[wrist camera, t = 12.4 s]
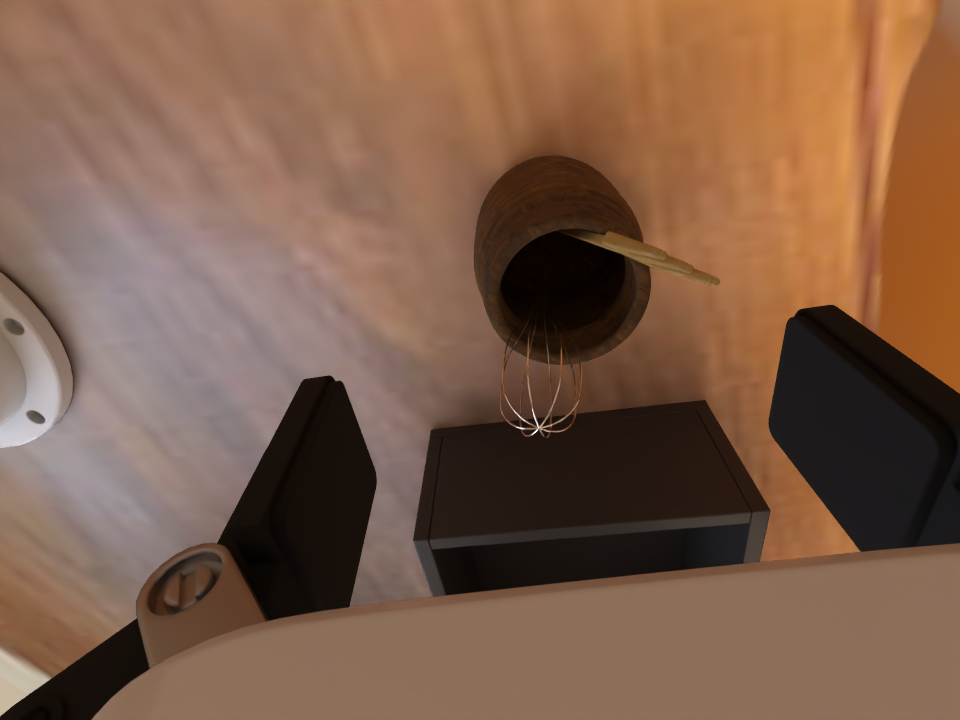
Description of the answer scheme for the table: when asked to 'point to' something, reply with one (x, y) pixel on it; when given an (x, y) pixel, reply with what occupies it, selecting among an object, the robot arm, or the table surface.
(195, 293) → the table surface
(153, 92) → the table surface
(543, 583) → the black box
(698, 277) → the utensil holder
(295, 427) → the robot arm
